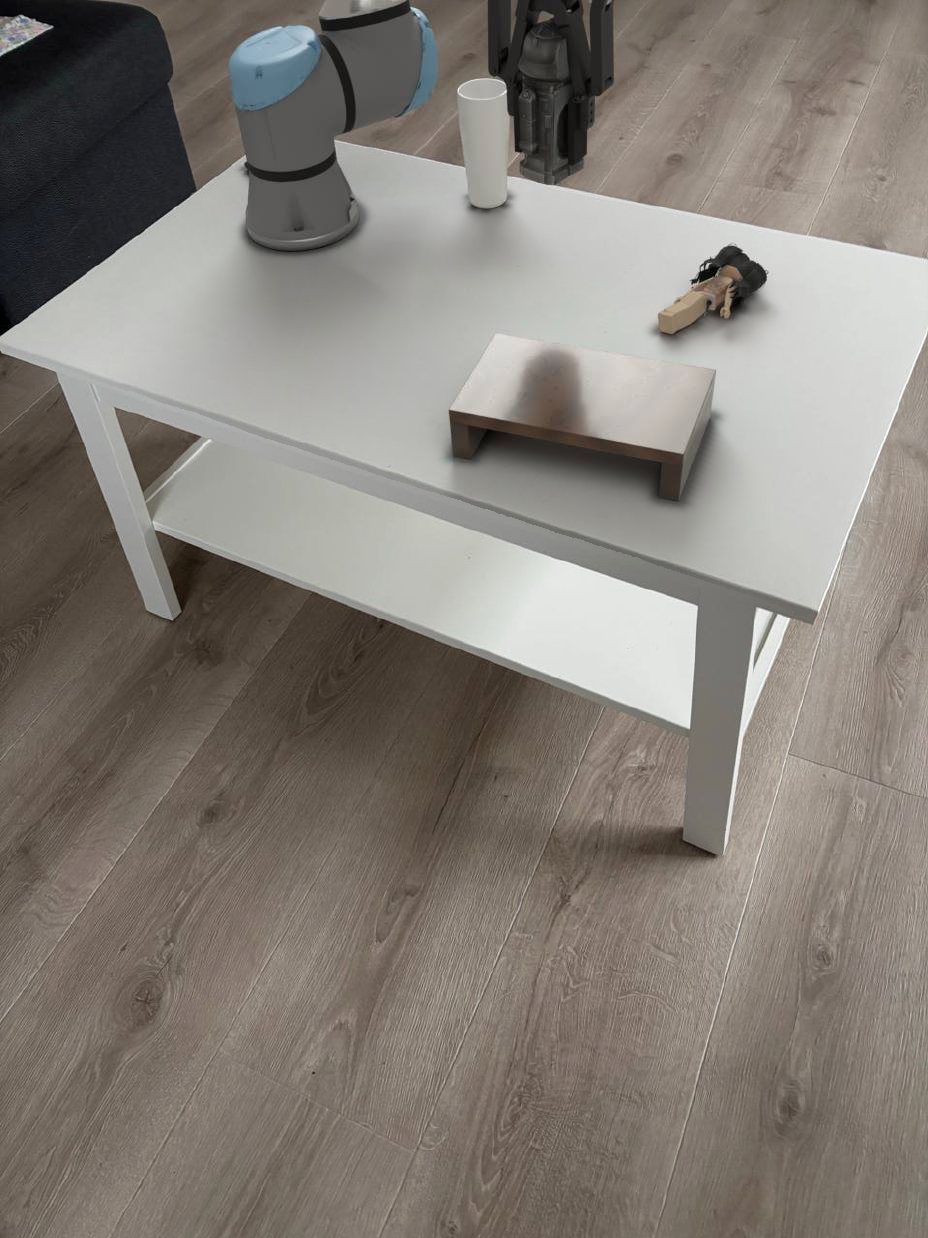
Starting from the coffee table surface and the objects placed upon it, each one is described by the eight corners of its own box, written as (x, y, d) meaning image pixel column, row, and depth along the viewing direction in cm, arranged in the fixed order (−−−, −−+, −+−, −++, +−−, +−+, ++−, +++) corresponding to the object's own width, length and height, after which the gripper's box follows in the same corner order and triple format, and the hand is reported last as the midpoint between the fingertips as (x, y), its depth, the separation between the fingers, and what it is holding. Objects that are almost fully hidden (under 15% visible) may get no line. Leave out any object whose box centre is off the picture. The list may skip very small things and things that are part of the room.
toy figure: (704, 351, 124) (774, 287, 130) (702, 302, 119) (775, 238, 126) (652, 336, 128) (722, 275, 134) (648, 288, 123) (721, 227, 130)
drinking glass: (508, 213, 147) (504, 100, 136) (459, 211, 148) (451, 99, 137) (516, 189, 151) (513, 77, 140) (468, 187, 152) (462, 76, 141)
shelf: (452, 455, 114) (448, 409, 109) (498, 378, 122) (495, 332, 118) (678, 501, 107) (683, 454, 103) (710, 416, 115) (716, 369, 111)
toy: (556, 147, 119) (556, -3, 108) (597, 162, 116) (602, 9, 105) (503, 176, 115) (498, 24, 104) (544, 192, 112) (543, 37, 101)
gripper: (438, -101, 99) (457, 150, 116) (622, -80, 91) (613, 186, 109) (482, -124, 103) (494, 122, 120) (662, -106, 95) (647, 154, 113)
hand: (550, 152), depth 114 cm, fingers closed on toy, 6 cm apart
